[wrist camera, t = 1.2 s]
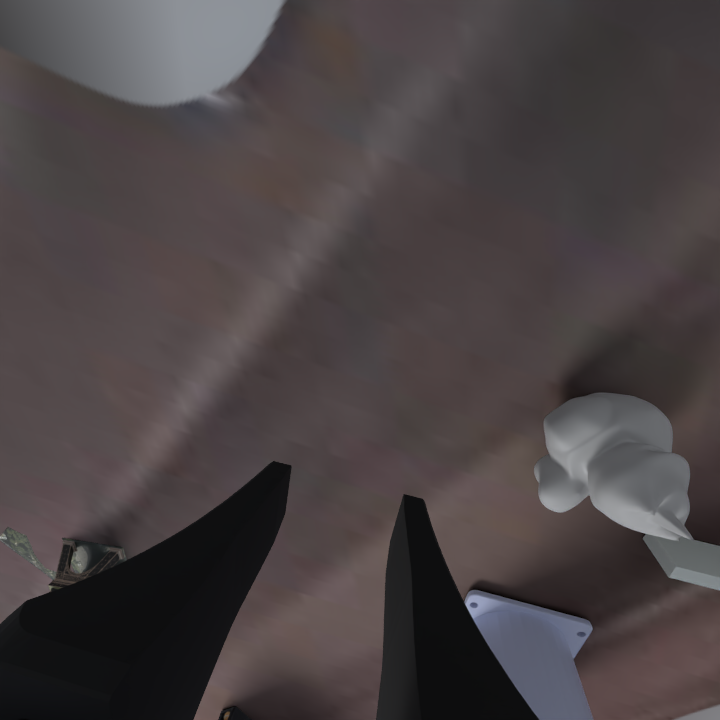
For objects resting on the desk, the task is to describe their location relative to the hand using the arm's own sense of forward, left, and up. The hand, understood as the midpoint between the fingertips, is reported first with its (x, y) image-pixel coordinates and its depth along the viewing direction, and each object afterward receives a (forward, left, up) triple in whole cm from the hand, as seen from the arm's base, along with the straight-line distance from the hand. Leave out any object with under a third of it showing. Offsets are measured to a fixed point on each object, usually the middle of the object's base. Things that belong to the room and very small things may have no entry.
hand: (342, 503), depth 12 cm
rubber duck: (0, -11, -10) cm, 15 cm away
